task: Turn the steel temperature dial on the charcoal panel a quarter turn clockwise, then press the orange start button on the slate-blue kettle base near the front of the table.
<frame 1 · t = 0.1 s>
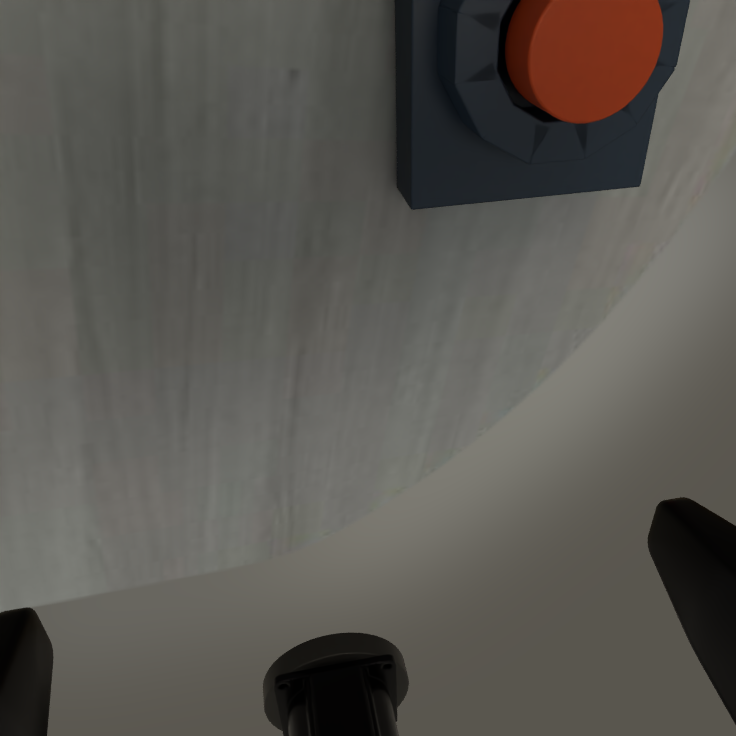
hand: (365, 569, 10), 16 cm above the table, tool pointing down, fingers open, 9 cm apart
kettle base: (518, 21, 21), on the table
kettle button: (581, 45, 18), point 5 cm above the table, slide at 0.2 cm
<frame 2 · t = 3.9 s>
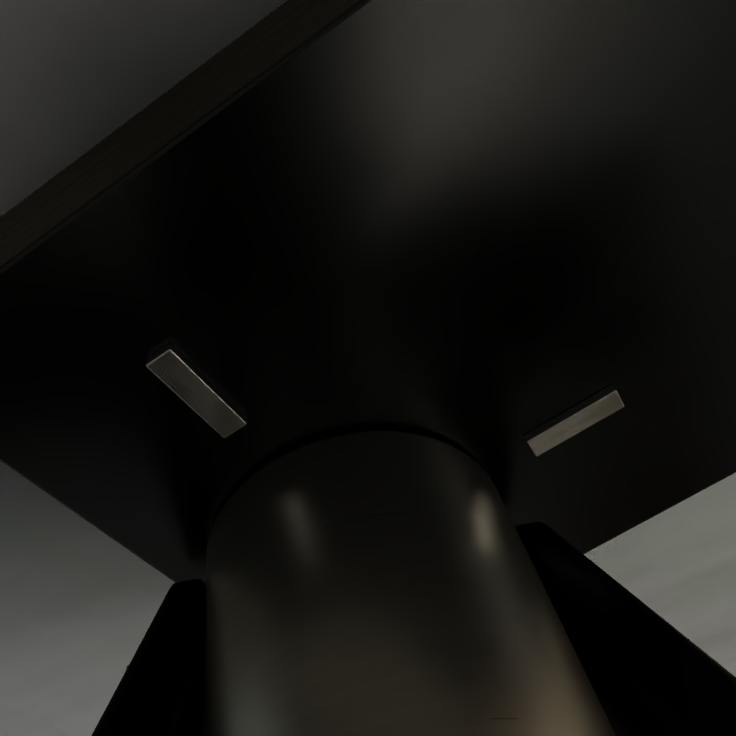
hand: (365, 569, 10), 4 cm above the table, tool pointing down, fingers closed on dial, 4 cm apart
dial: (392, 696, 8), point 5 cm above the table, hinge at 0.0°, touching gripper
dial panel: (455, 253, 11), on the table
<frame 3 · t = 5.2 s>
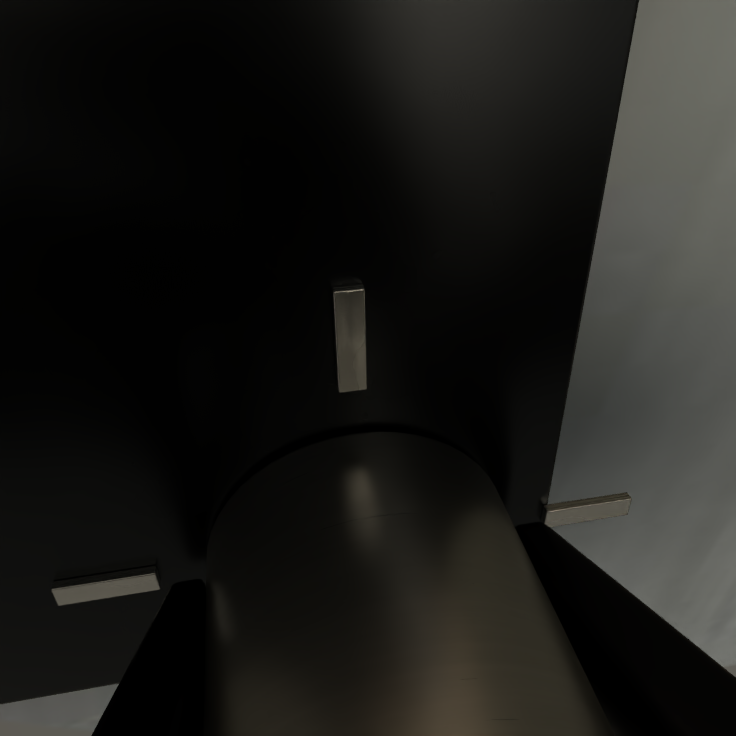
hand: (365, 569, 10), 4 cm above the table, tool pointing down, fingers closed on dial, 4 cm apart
dial: (392, 696, 8), point 5 cm above the table, hinge at -59.5°, touching gripper
dial panel: (221, 252, 10), on the table
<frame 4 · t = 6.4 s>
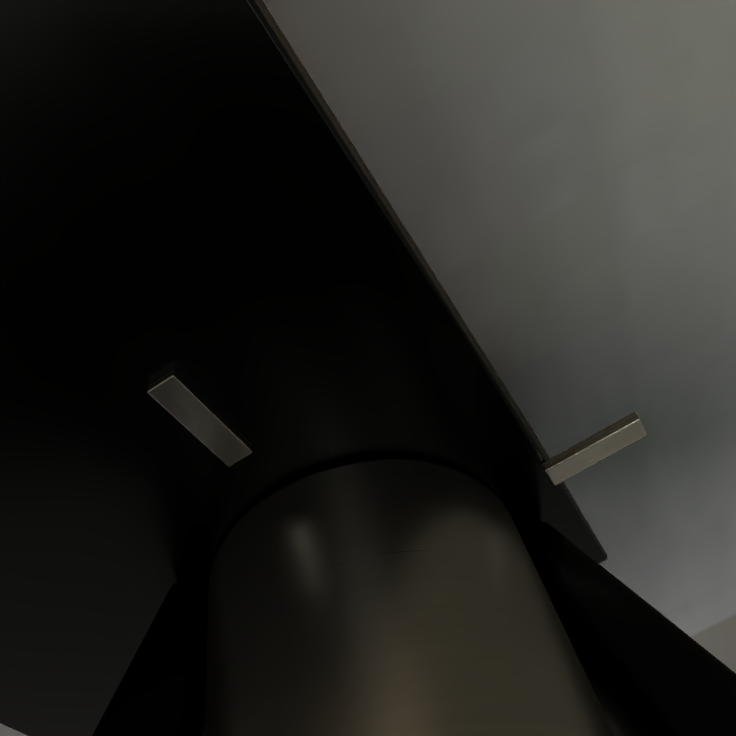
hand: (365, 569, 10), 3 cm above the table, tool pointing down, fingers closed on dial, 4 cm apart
dial panel: (134, 350, 10), on the table
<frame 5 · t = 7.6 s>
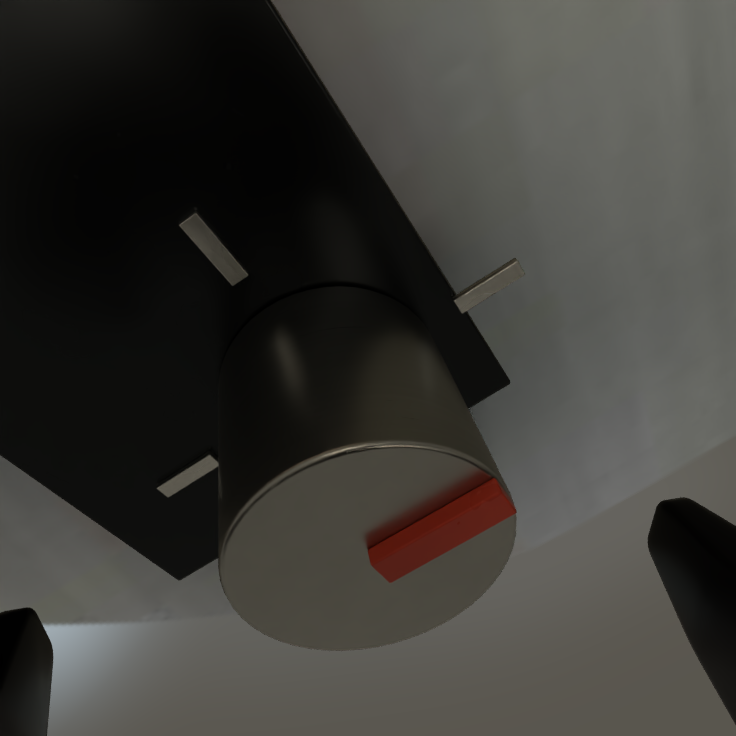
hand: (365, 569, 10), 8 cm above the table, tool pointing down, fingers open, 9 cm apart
dial: (350, 463, 12), point 5 cm above the table, hinge at -90.1°
dial panel: (162, 232, 14), on the table
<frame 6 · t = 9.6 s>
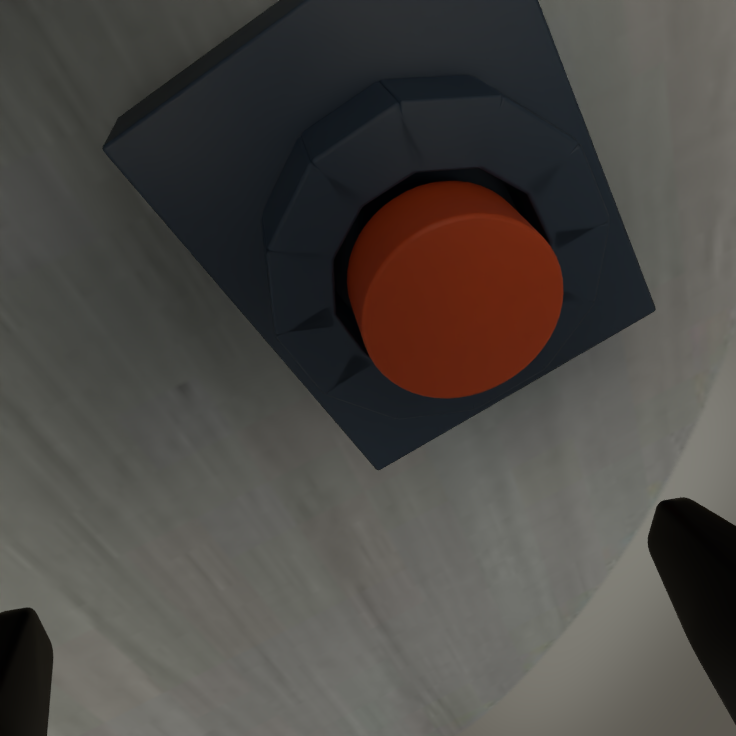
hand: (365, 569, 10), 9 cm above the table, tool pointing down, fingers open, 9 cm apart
kettle base: (397, 205, 16), on the table
kettle button: (451, 291, 12), point 5 cm above the table, slide at 0.2 cm
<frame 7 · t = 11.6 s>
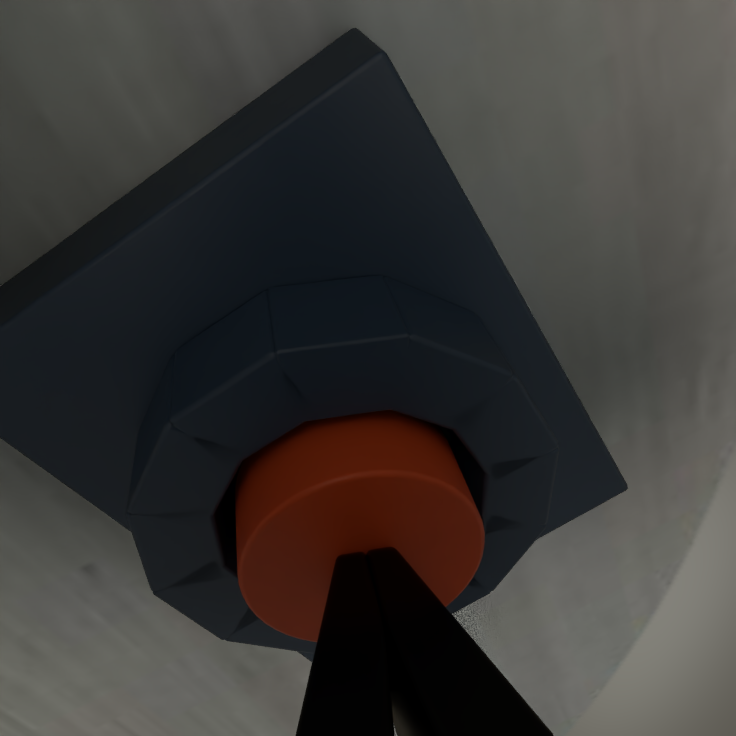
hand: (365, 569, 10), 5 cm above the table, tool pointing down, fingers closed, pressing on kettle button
kettle base: (322, 375, 14), on the table
kettle button: (355, 522, 10), point 4 cm above the table, slide at -0.4 cm, touching gripper
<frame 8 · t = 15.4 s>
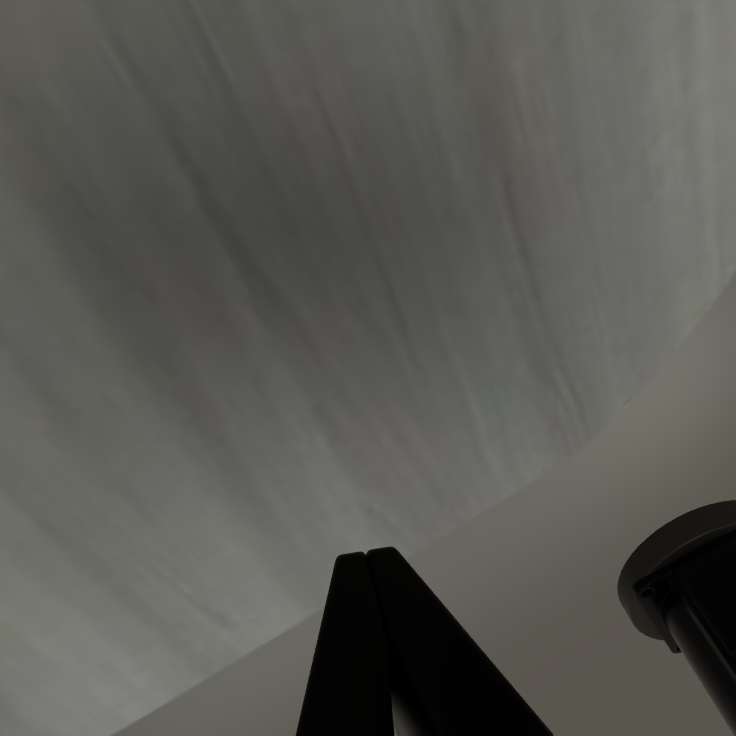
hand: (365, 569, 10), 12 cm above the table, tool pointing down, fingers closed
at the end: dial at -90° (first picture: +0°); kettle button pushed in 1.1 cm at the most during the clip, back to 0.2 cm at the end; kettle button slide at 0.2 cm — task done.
